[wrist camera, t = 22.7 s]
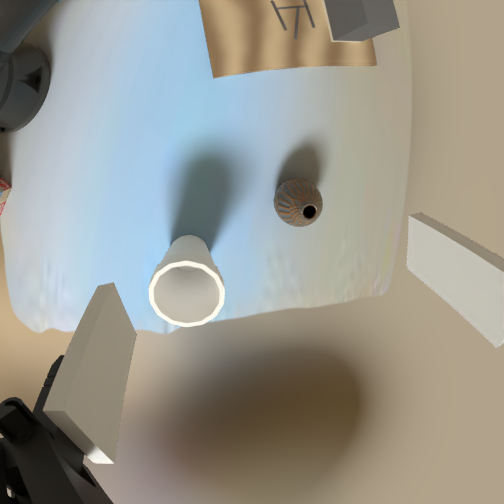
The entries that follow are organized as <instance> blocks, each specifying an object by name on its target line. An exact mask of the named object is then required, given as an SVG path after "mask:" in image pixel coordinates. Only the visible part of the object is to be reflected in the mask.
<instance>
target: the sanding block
mask: <svg viewBox="0 0 504 504" xmlns="http://www.w3.org/2000/svg"><path fill="white" fill-rule="evenodd" d="M322 4H323V8H324V12H325V16H326V20H327V24H328V29H329V33H330V38H331V42H362V41H364V40H367V39H370V38H372V37H375V36H377V35H380V34H383V33H386V32H388V31H391V30H394V29H397V28H400V26H399V22H398V18H397V14H396V10H395V7H394V3H393V0H322Z"/></svg>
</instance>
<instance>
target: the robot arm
mask: <svg viewBox="0 0 504 504" xmlns="http://www.w3.org/2000/svg"><path fill="white" fill-rule="evenodd" d="M60 1H61V0H0V133H10V132H14V131H17V130H19V129H21V128H23V127H24V126H26V125H27V124H28V123H29V122H30V121H31V120H32V119H33V118H34V117H35V115H36V114H37V113H38V111H39V110H40V108H41V106H42V104H43V102H44V100H45V98H46V95H47V92H48V88H49V82H50V67H49V63H48V60H47V57H46V56H45V54H44V53H43V52H42V51H41V50H40V49H39V48H37V47H35V46H33V45H30V44H26V43H22V42H23V41H24V39H25V38H26V37H27V36H28V34H29V33H30V32H31V31H32V29H33V28H34V27H35V26H36V25H37V24H38V22H39V21H40V20H41V19H42V18H43V17H44V16H45V14H46V13H47V12H48V11H49V10H50V9H51V8H52V7H53V6H54V5H55V4H56V3H59V2H60ZM407 269H408V270H410V271H411V272H412V273H413V274H414V275H416V276H417V277H418V278H419V279H421V280H422V281H423V282H424V283H425V284H426V285H428V286H429V287H430V288H431V289H432V290H433V291H435V292H436V293H437V294H438V295H439V296H440V297H442V298H443V299H444V300H445V301H446V302H447V303H448V304H450V305H451V306H452V307H453V308H454V309H455V310H456V311H458V312H459V313H460V314H461V315H462V316H463V317H464V318H465V319H466V320H467V321H468V322H470V323H471V324H472V325H473V326H474V327H475V328H476V329H477V330H478V331H479V332H480V333H481V334H482V335H483V336H485V337H486V338H487V339H488V340H489V341H490V342H491V343H492V344H493V345H494V346H495V347H496V348H497V347H499V346H500V345H502V344H503V343H504V259H503V258H501V257H500V256H498V255H497V254H495V253H493V252H491V251H490V250H488V249H486V248H484V247H483V246H481V245H480V244H478V243H476V242H474V241H473V240H471V239H469V238H468V237H466V236H464V235H462V234H460V233H459V232H457V231H455V230H453V229H451V228H450V227H448V226H446V225H444V224H442V223H440V222H438V221H437V220H435V219H433V218H431V217H429V216H427V215H425V214H423V213H416V214H412V215H409V229H408V252H407ZM136 335H137V334H136V332H135V330H134V328H133V326H132V324H131V321H130V319H129V317H128V315H127V313H126V310H125V308H124V306H123V303H122V301H121V299H120V296H119V294H118V292H117V289H116V287H115V284H114V282H113V283H109V284H105V285H100V286H98V287H97V289H96V291H95V293H94V295H93V297H92V299H91V300H90V302H89V304H88V306H87V308H86V310H85V312H84V314H83V316H82V319H81V321H80V323H79V325H78V327H77V329H76V331H75V334H74V335H73V338H72V340H71V342H70V344H69V347H68V349H67V351H66V354H65V355H61V356H59V358H58V359H57V360H56V361H55V362H54V364H53V365H52V366H51V368H50V371H49V373H48V375H47V378H46V380H45V382H44V387H42V390H41V392H40V394H39V397H38V400H37V402H36V405H35V407H34V410H33V413H32V412H31V411H30V409H29V408H28V407H27V406H26V405H25V404H24V402H23V401H22V400H21V399H19V398H17V397H12V398H8V399H6V400H4V401H3V402H2V403H1V404H0V433H1V434H2V435H3V436H4V438H0V504H113V502H112V501H111V500H110V498H109V497H108V496H107V494H106V493H105V492H104V490H103V489H102V488H101V486H100V485H99V483H98V482H97V481H96V479H95V478H94V476H93V475H92V473H91V472H90V470H89V469H88V468H87V467H86V466H85V465H84V464H83V459H84V454H85V455H86V456H87V457H88V458H89V459H90V460H91V461H92V462H94V463H109V464H111V463H112V464H113V463H115V456H116V448H117V441H118V433H119V426H120V420H121V413H122V407H123V401H124V395H125V390H126V384H127V378H128V373H129V368H130V364H131V359H132V354H133V349H134V344H135V340H136ZM7 488H8V489H9V490H11V497H9V496H8V494H7Z"/></svg>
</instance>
